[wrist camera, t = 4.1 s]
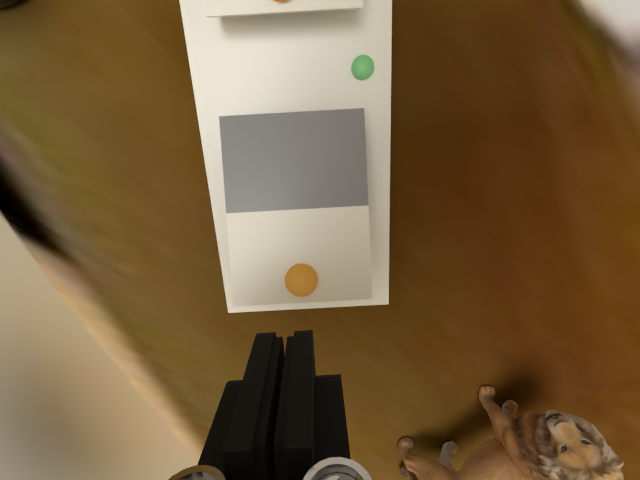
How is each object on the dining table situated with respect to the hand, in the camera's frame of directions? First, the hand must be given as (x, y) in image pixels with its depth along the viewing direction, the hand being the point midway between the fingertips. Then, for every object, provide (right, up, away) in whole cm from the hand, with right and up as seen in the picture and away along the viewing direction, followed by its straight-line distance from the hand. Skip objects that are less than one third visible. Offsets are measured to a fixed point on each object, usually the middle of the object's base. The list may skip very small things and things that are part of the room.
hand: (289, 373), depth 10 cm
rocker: (0, +5, +5) cm, 8 cm away
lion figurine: (+13, -10, +18) cm, 24 cm away
